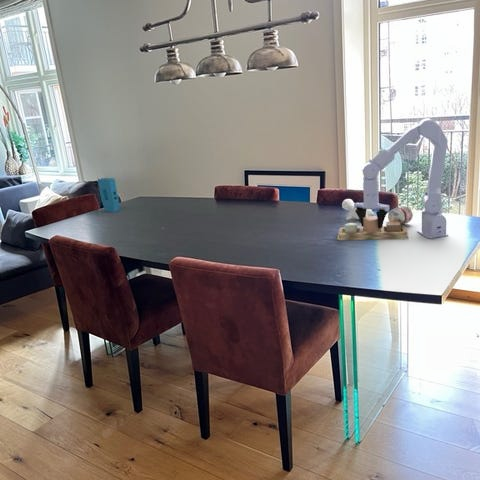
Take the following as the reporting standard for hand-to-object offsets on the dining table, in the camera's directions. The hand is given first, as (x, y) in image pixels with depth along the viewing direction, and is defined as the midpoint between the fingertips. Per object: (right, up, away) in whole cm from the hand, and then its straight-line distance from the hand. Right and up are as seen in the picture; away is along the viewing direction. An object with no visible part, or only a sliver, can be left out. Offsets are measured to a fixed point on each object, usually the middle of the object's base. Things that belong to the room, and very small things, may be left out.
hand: (371, 226), depth 189 cm
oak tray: (0, -3, +1) cm, 4 cm away
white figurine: (+1, +4, +27) cm, 28 cm away
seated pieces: (0, -3, +1) cm, 4 cm away
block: (-133, +13, +104) cm, 169 cm away
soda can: (+17, +5, +12) cm, 21 cm away
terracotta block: (0, -1, 0) cm, 1 cm away
